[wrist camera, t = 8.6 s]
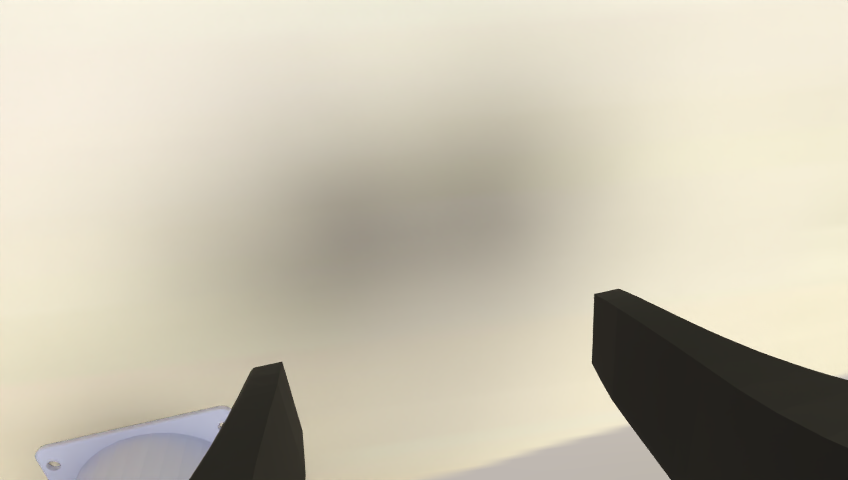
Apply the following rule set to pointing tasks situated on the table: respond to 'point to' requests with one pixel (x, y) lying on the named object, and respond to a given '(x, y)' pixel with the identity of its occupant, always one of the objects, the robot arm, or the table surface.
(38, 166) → the table surface
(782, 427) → the robot arm
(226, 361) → the table surface
